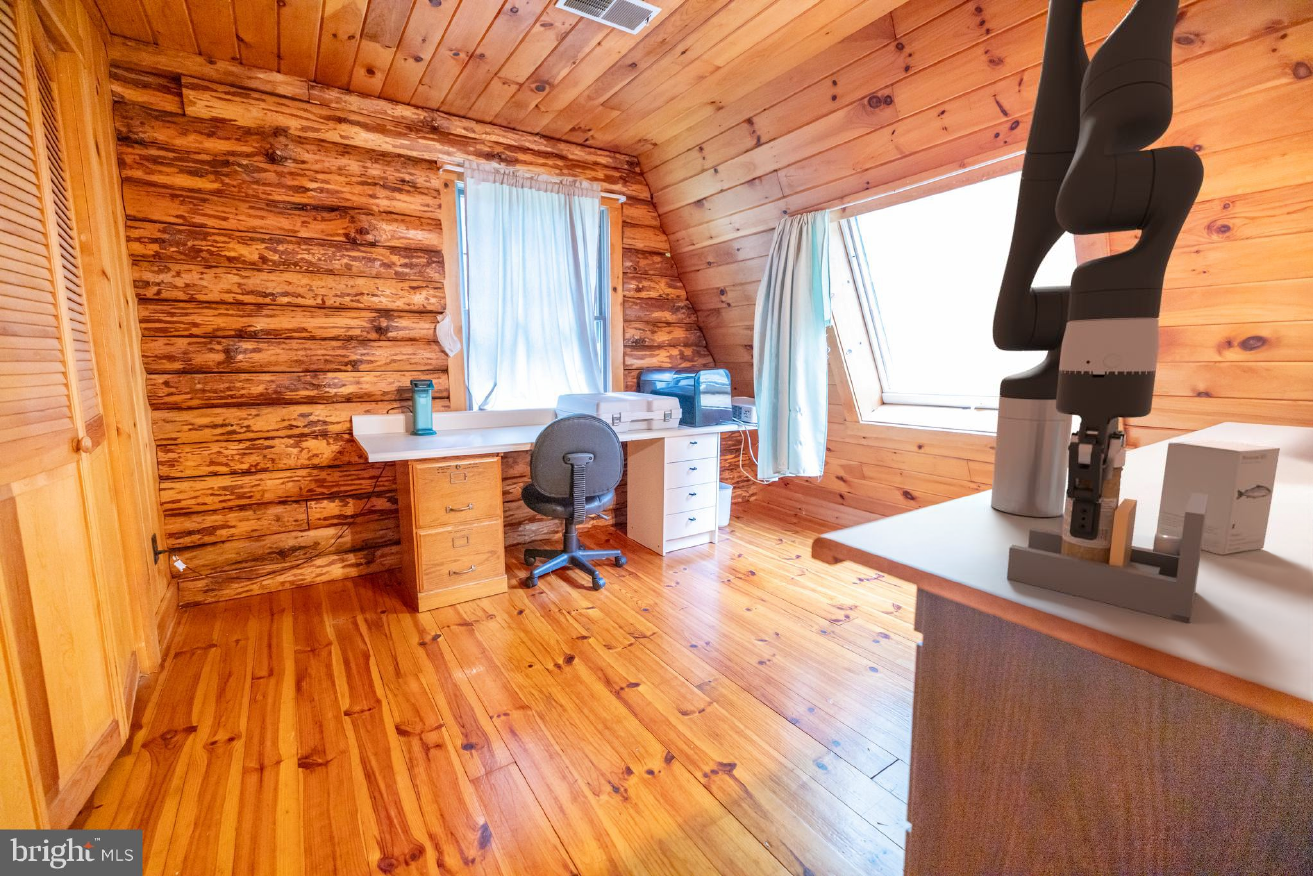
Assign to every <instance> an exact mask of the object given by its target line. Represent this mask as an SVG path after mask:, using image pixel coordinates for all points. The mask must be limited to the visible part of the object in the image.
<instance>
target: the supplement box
mask: <svg viewBox="0 0 1313 876" xmlns="http://www.w3.org/2000/svg"><path fill="white" fill-rule="evenodd" d="M1280 450H1281V449H1280V447H1276V446H1268V445H1260V444H1259V445H1258V444H1249V443H1239V442H1231V441H1223V440H1213V439H1211V440H1210V439H1204V440H1201V439H1200V440H1189V441H1185V440H1184V441H1172V442H1168V444H1167V451H1166V460H1165V464H1164V465H1165V466H1164V475H1163V479H1162V480H1163V481H1162V487H1161V489H1162V490H1161V495H1160V496H1161V497H1160V503H1159V510H1158V517H1157V525H1156V526H1157V527H1156V532H1155V534H1161V535H1167V536H1174V537H1180V538H1182V533H1183V525H1184V518H1185V511H1186V508H1187V505H1188V502H1189V500H1190V497H1191V494H1192V493H1200V494H1208V495H1209V497H1208V504H1207V512H1206V519H1205V526H1204V533H1203V541H1202V548H1201V551H1206V552H1210V553H1213V554H1217V555H1221V556H1225V555H1228V554H1232V553H1233V554H1234V553H1239V552H1246V551H1251V550H1252V551H1254V550H1262V549H1264V546H1265V540H1266V535H1267V529H1268V523H1269V517H1270V512H1271V507H1272V506H1271V505H1272V499H1273V495H1274V487H1275V480H1276V473H1277V469H1278V468H1277V467H1278V463H1279V462H1278V461H1279V456H1280Z"/></svg>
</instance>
